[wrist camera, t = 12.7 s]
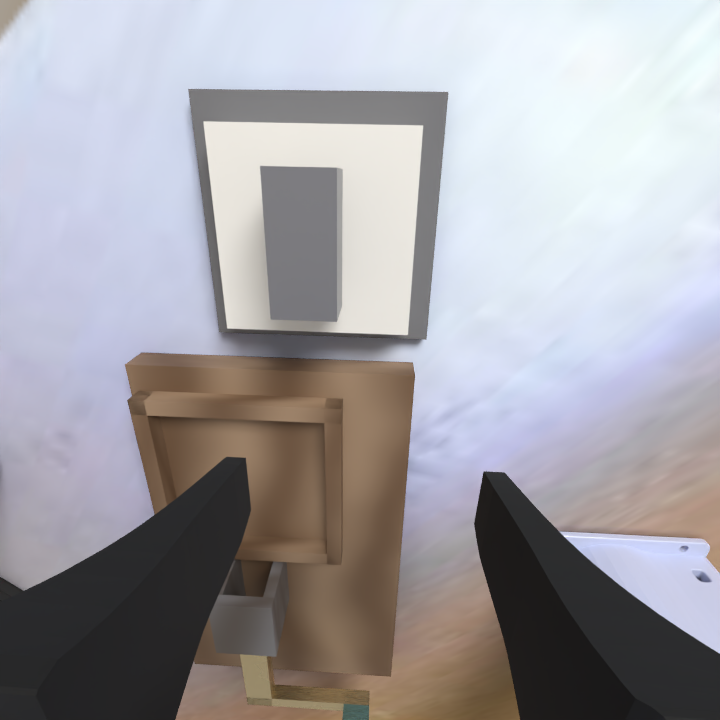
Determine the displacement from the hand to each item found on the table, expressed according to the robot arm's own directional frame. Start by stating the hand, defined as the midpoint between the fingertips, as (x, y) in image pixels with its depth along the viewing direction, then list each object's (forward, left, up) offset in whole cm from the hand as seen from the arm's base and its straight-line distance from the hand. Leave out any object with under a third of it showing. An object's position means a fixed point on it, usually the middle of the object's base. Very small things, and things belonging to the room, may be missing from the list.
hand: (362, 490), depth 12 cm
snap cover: (+2, -7, -9) cm, 11 cm away
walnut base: (+5, +12, -9) cm, 16 cm away
